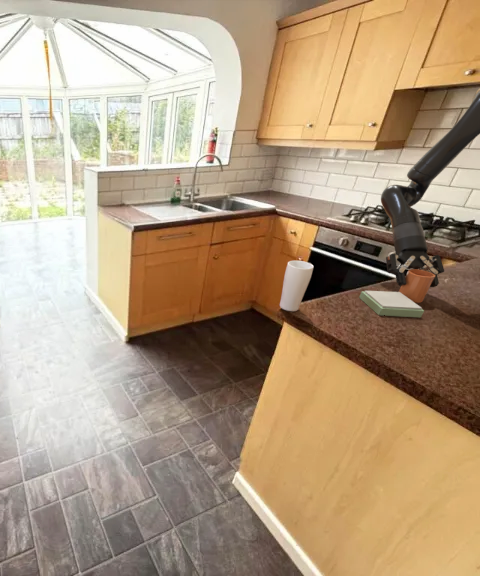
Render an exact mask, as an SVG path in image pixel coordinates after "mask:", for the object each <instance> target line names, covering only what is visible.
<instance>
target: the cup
mask: <svg viewBox="0 0 480 576" xmlns="http://www.w3.org/2000/svg"><path fill="white" fill-rule="evenodd" d="M407 270H408V271H407V272H406V274H405V279H406V285H403V286H400V288H399V290H398V292H400V293H402V294H403V295H405V296H406V297H407V298H409V299H410V300H412V301H413V302H414V303H416V304H419V303H422V302H423V301H424V300H425V298H426V296H427V294H428V291H429V290H430V288H431V287H430V286H431V284H432V282H433V280H434V278H435V274H433V273H431V271H430V272H428V271H425V270H420V269H407Z"/></svg>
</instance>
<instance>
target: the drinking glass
mask: <svg viewBox="0 0 480 576" xmlns="http://www.w3.org/2000/svg"><path fill="white" fill-rule="evenodd" d="M313 271H314V265H313V264H312V263H311V262H307V261H304V260H289V261H287V265H286V267H285V272H284V277H283V282H282V290H281V296H280V302H279V307H280V309H282V310H284V311H286V312H297V311H298V310H299V309H300V305H301V303H302V300H303V298H304V296H305V293H306V291H307V288H308V286H309V284H310V281H311V279H312V275H313Z"/></svg>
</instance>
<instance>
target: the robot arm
mask: <svg viewBox="0 0 480 576" xmlns="http://www.w3.org/2000/svg"><path fill="white" fill-rule="evenodd" d="M479 135H480V87H479V88H478V89H477V90H476V92H475V93H474V95H473V98H472V100H471V103H470V105H469V106H468V108H467V109H466V110H465V112H464V113H463V115H462V116H461V117H460V119H459V120H458V121H457V122H456V123H455V124H454V125H453V126H452V127H451V129H450V130H448V132H447V133H446V134H445V135H444V136H442V137H441V138H440V139H439V140H438V141H437V142H436V143H435V144H434V145H433V146H432V147H430V148H429V149H428V150H427V151H426V152H425V153H424V154H423V155H422V156H421V157H420V158H419V159H418V161H417V162H416V163H415V164H414V165H413V166H412V167H411V168H410V169H409V170H408V172H407V174H406V177H407V178H408V179H409V180H410V183H409V185H408V186H407V185H402V184H391V185H388V186H387V187H385V188H384V190H382V193H381V196H380V203H381V206H382V209H384V212H385V213H386V215H387V216H388V218H389V220H390V224H391V225H390V226H391V230H392V232H391V233H392V234H391V235H392V241H393V247H394V252H395V253H390V254H389V255H387V256H386V257H385V261H386V272H387V273H388V274H394V276H395V281H396V284H397V285H398V286H399V287H401V286H403V285H406V279H405V277H406V274H405V271H406V270H410V269H420V270H425V271H428V272H431V273H433V274H435V278H434V280H433V282H432V284H431V286H430V288H436V287H438V285H439V284H440V281H439V277H438V275H441V274H443V273H445V268H444V265H443V262H442V261H443V260H442V259H441V255H439V254H436V255H433V256H432V255H428V244H427V240H426V236H425V231H424V228H423V226H422V221H421V218H420V214H419V212H418V210H417V209H416V208H413V206H415V205H416V204H417V203H418V202H420V201H421V200H422V199H423V197H424V196H425V194H426V192H427V190H428V189H429V188H430V186H431V184H432V182H433V181H434V180H435V179H436V178H437V177H438V176H439V175H440V174H441V173H442V172H443V171H444V170H445V169H446V168H447V167H448V166H449V165H450V164H451V163H452V162H453V161H454V160H455V159H456V158H457V157H458V156H459V155H460V154H461V153H462V152H463V151H464V150H465V148H466V147H468V146H469V145H470V144H471V142H473V141H474V140H475V139H476V138H477V137H478V136H479ZM397 262H398V263H399V265H397Z"/></svg>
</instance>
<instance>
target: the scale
mask: <svg viewBox="0 0 480 576" xmlns="http://www.w3.org/2000/svg"><path fill="white" fill-rule="evenodd" d="M358 298H359V300H361V301H362V302H363V303H364V304H366V305H367V306H368V308H370V310H372V311H373V312H375V313H376V314H377V315H378V316H384V315H385V316H386V317H400V318H401V317H403V318H404V317H405V318H422V317H423V314H424V312H425V310H424V309H423V308H422V306H421V305H418V303H415V302H413V301H412V300H410V299H409V298H407V297H406V296H405V295H403V294H402V293H400V292H399V291H384V290H364V291H360V294H359V297H358Z"/></svg>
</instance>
